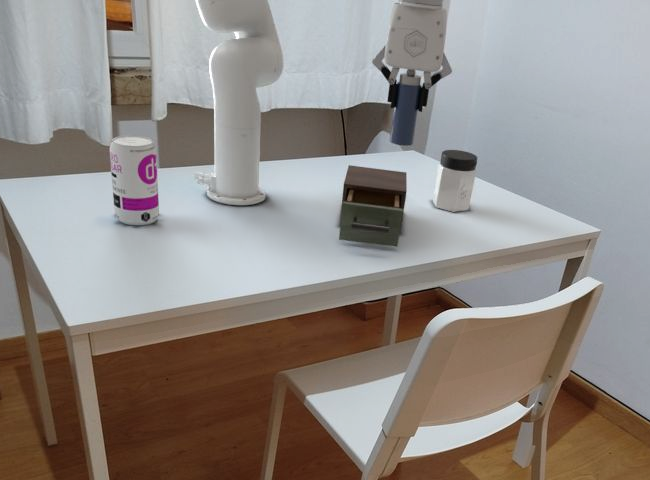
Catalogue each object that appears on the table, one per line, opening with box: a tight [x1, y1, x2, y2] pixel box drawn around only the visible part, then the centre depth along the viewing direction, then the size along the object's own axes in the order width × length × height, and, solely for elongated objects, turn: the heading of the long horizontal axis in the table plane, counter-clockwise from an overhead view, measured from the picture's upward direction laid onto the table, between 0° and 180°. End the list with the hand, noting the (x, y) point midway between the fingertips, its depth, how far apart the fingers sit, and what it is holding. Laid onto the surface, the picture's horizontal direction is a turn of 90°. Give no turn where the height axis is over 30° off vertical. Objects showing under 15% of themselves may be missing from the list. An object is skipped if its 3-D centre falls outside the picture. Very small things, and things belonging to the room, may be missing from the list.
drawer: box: [338, 188, 404, 248], centre depth 131 cm, size 17×11×7 cm
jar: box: [432, 149, 478, 213], centre depth 154 cm, size 9×8×12 cm
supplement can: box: [108, 135, 160, 226], centre depth 126 cm, size 8×8×15 cm
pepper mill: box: [389, 69, 423, 147], centre depth 123 cm, size 4×4×13 cm
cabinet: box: [338, 164, 408, 235], centre depth 141 cm, size 14×13×9 cm
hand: (406, 107), depth 123 cm, fingers closed on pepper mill, 4 cm apart
